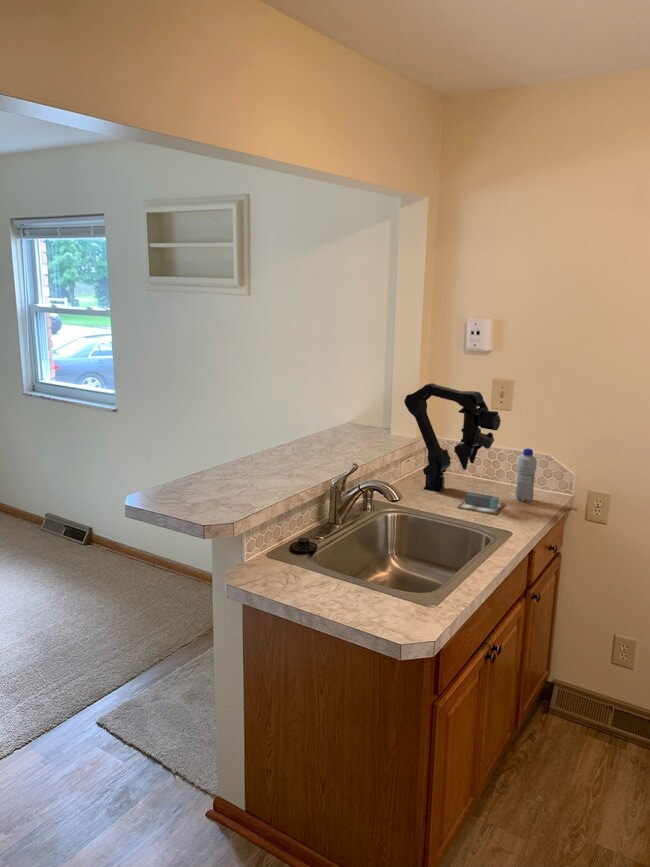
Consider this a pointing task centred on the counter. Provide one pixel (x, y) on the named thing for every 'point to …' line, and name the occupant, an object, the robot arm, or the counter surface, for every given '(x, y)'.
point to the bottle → (526, 476)
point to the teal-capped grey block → (481, 500)
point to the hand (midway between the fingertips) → (468, 466)
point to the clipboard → (481, 508)
